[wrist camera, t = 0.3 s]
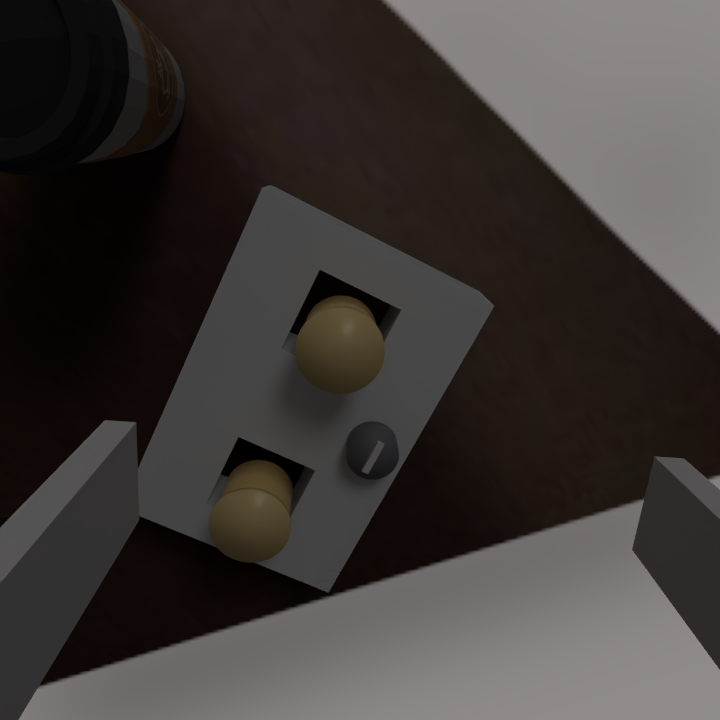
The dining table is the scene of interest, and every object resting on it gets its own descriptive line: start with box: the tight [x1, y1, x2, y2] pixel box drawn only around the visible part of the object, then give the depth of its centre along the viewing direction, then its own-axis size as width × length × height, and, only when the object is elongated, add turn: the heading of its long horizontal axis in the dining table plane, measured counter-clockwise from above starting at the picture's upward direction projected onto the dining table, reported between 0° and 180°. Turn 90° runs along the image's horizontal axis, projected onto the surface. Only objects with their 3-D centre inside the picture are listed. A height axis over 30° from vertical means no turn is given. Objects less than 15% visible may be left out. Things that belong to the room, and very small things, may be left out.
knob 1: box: [208, 460, 293, 563], centre depth 35 cm, size 4×4×4 cm
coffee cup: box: [0, 0, 185, 175], centre depth 27 cm, size 8×8×15 cm
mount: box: [138, 185, 494, 592], centre depth 37 cm, size 14×21×6 cm, turn 153°
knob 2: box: [295, 295, 385, 394], centre depth 32 cm, size 4×4×4 cm
